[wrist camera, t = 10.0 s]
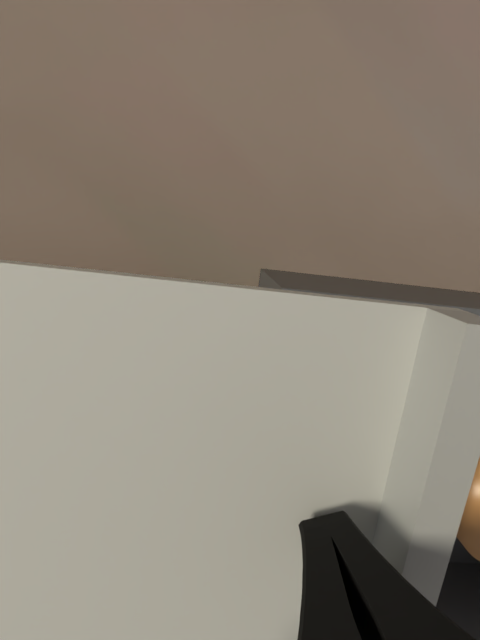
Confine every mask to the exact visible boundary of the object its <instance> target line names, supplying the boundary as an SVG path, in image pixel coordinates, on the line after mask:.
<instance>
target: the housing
mask: <svg viewBox="0 0 480 640" xmlns="http://www.w3.org/2000/svg"><path fill="white" fill-rule="evenodd" d="M259 287H263V288H272V289H281V290H291V291H300V292H310V293H319V294H328V295H338V296H347V297H357V298H366V299H375V300H385V301H394V302H403V303H413V304H422V305H432V306H441V307H450V308H458V309H461V310H464V311H467V312H470V313H473V314H476V315H479V316H480V293H475V292H466V291H457V290H448V289H439V288H430V287H421V286H412V285H403V284H394V283H385V282H376V281H367V280H358V279H349V278H340V277H331V276H322V275H313V274H304V273H295V272H286V271H277V270H268V269H261V272H260V280H259ZM436 607H437V608H438V609H439V610H440V611H441V612H442V613H444V614H445V615H446V616H447V617H448V618H450V619H451V620H452V621H453V622H454V623H456V624H457V625H458V626H459V627H461V628H462V629H463V630H464V631H466V632H467V633H468V634H470V635H471V636H472V637H473V638H475V639H476V640H480V561H478V560H477V559H475V558H474V557H473V556H472V555H471V554H470V553H469V552H468V551H467V550H466V548H465V547H464V546H463V545H462V543H461V542H460V541H459V539H458V538H457V537H456V539H455V543H454V546H453V549H452V553H451V556H450V560H449V563H448V567H447V570H446V573H445V577H444V580H443V584H442V587H441V591H440V594H439V597H438V601H437V604H436Z"/></svg>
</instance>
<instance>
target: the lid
mask: <svg viewBox="0 0 480 640" xmlns="http://www.w3.org/2000/svg"><path fill="white" fill-rule="evenodd" d="M479 457H480V316H479V315H476V314H473V313H470V312H467V311H464V310H461V309H458V308H450V307H441V306H432V305H422V304H413V303H403V302H394V301H385V300H375V299H366V298H357V297H347V296H338V295H328V294H319V293H310V292H300V291H291V290H281V289H272V288H263V287H253V286H244V285H234V284H225V283H216V282H206V281H197V280H188V279H178V278H169V277H159V276H150V275H141V274H131V273H122V272H112V271H103V270H94V269H84V268H75V267H65V266H56V265H47V264H37V263H28V262H18V261H9V260H0V640H297V639H298V631H299V622H300V610H301V599H302V571H303V560H302V542H301V534H300V530H299V526H298V525H299V524H300V522H301V521H303V520H307V519H311V518H314V517H318V516H322V515H326V514H330V513H334V512H338V511H342V510H343V511H344V512H346V513H347V514H348V515H349V517H350V518H351V519H352V521H353V522H354V523H355V525H356V526H357V527H358V528H359V530H360V531H361V532H362V533H363V534H364V536H365V537H366V538H367V539H368V540H369V541H370V543H371V544H372V545H373V546H374V547H375V548H376V549H377V550H378V551H379V553H380V554H381V555H382V556H383V557H384V558H385V559H386V560H387V561H388V562H389V563H390V564H391V565H392V566H393V567H394V568H395V569H396V570H397V571H398V572H399V573H400V574H401V575H402V576H403V577H404V578H405V579H406V580H407V581H408V582H409V583H410V584H411V585H412V586H413V587H414V588H416V589H417V590H418V591H419V592H420V593H421V594H422V595H423V596H424V597H425V598H426V599H427V600H429V601H430V602H431V603H432V604H433V605H434V606H435V607H436V604H437V601H438V597H439V594H440V591H441V587H442V584H443V580H444V577H445V573H446V570H447V567H448V563H449V560H450V556H451V553H452V549H453V546H454V543H455V539H456V536H457V532H458V529H459V525H460V522H461V518H462V515H463V512H464V508H465V505H466V501H467V498H468V494H469V491H470V488H471V484H472V481H473V477H474V474H475V470H476V467H477V464H478V460H479Z"/></svg>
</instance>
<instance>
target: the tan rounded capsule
mask: <svg viewBox="0 0 480 640" xmlns="http://www.w3.org/2000/svg"><path fill="white" fill-rule="evenodd" d="M456 537H457V538H458V539H459V541H460V542H461V543H462V545H463V546H464V547H465V548H466V550H467V551H468V552H469V553H470V554H471V555H472V556H473V557H474V558H475V559H477V560H478V561H480V457H479V460H478V464H477V467H476V470H475V474H474V477H473V481H472V484H471V488H470V491H469V494H468V498H467V501H466V505H465V508H464V512H463V515H462V518H461V522H460V525H459V529H458V532H457V536H456Z"/></svg>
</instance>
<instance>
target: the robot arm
mask: <svg viewBox="0 0 480 640" xmlns="http://www.w3.org/2000/svg"><path fill="white" fill-rule="evenodd" d="M298 526H299V530H300V534H301V542H302V560H303V571H302V599H301V610H300V622H299V631H298V639H297V640H476V639H475V638H473V637H472V636H471V635H470V634H468V633H467V632H466V631H464V630H463V629H462V628H461V627H459V626H458V625H457V624H456V623H454V622H453V621H452V620H451V619H450V618H448V617H447V616H446V615H445V614H444V613H442V612H441V611H440V610H439V609H438V608H437V607H435V606H434V605H433V604H432V603H431V602H430V601H429V600H427V599H426V598H425V597H424V596H423V595H422V594H421V593H420V592H419V591H418V590H417V589H416V588H414V587H413V586H412V585H411V584H410V583H409V582H408V581H407V580H406V579H405V578H404V577H403V576H402V575H401V574H400V573H399V572H398V571H397V570H396V569H395V568H394V567H393V566H392V565H391V564H390V563H389V562H388V561H387V560H386V559H385V558H384V557H383V556H382V555H381V554H380V553H379V551H378V550H377V549H376V548H375V547H374V546H373V545H372V544H371V543H370V541H369V540H368V539H367V538H366V537H365V536H364V534H363V533H362V532H361V531H360V530H359V528H358V527H357V526H356V525H355V523H354V522H353V521H352V519H351V518H350V517H349V515H348V514H347V513H346V512H344V511H343V510H342V511H338V512H334V513H330V514H326V515H322V516H318V517H314V518H311V519H307V520H303V521H301V522H300V524H299V525H298Z"/></svg>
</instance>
